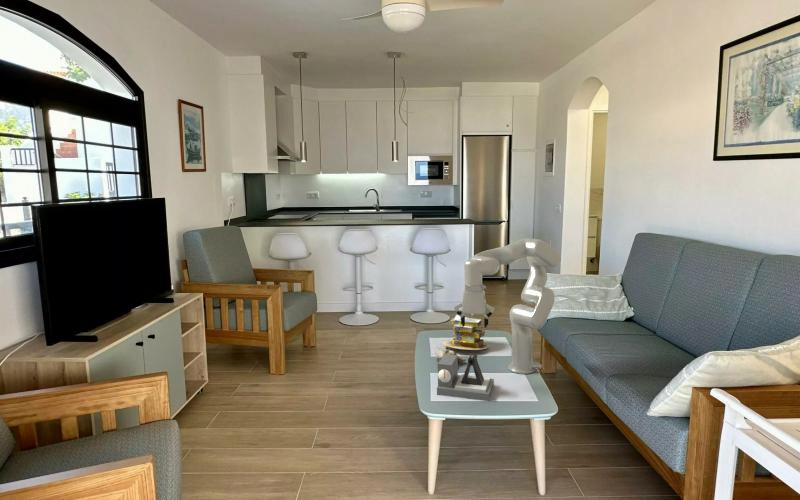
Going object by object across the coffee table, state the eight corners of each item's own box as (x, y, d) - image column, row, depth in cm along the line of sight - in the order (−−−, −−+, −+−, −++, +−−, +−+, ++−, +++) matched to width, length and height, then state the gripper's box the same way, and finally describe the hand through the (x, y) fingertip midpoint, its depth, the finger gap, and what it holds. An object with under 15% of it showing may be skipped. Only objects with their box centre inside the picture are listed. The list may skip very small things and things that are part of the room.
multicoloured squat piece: (455, 338, 275) (454, 310, 273) (495, 345, 262) (495, 315, 259) (434, 350, 255) (433, 321, 253) (476, 359, 241) (476, 327, 239)
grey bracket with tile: (494, 385, 209) (494, 357, 208) (488, 401, 194) (488, 370, 193) (445, 379, 217) (445, 352, 215) (436, 394, 202) (436, 365, 200)
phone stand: (484, 380, 205) (484, 353, 204) (481, 385, 200) (481, 358, 198) (463, 377, 208) (463, 351, 207) (460, 383, 203) (460, 356, 201)
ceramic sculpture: (442, 341, 244) (467, 348, 234) (441, 357, 245) (466, 365, 236) (430, 347, 235) (455, 355, 226) (429, 363, 237) (454, 372, 228)
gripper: (494, 286, 204) (495, 324, 207) (455, 285, 210) (456, 322, 212) (492, 290, 197) (493, 329, 200) (452, 289, 203) (453, 327, 205)
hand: (474, 326), depth 206 cm, fingers open, 9 cm apart
